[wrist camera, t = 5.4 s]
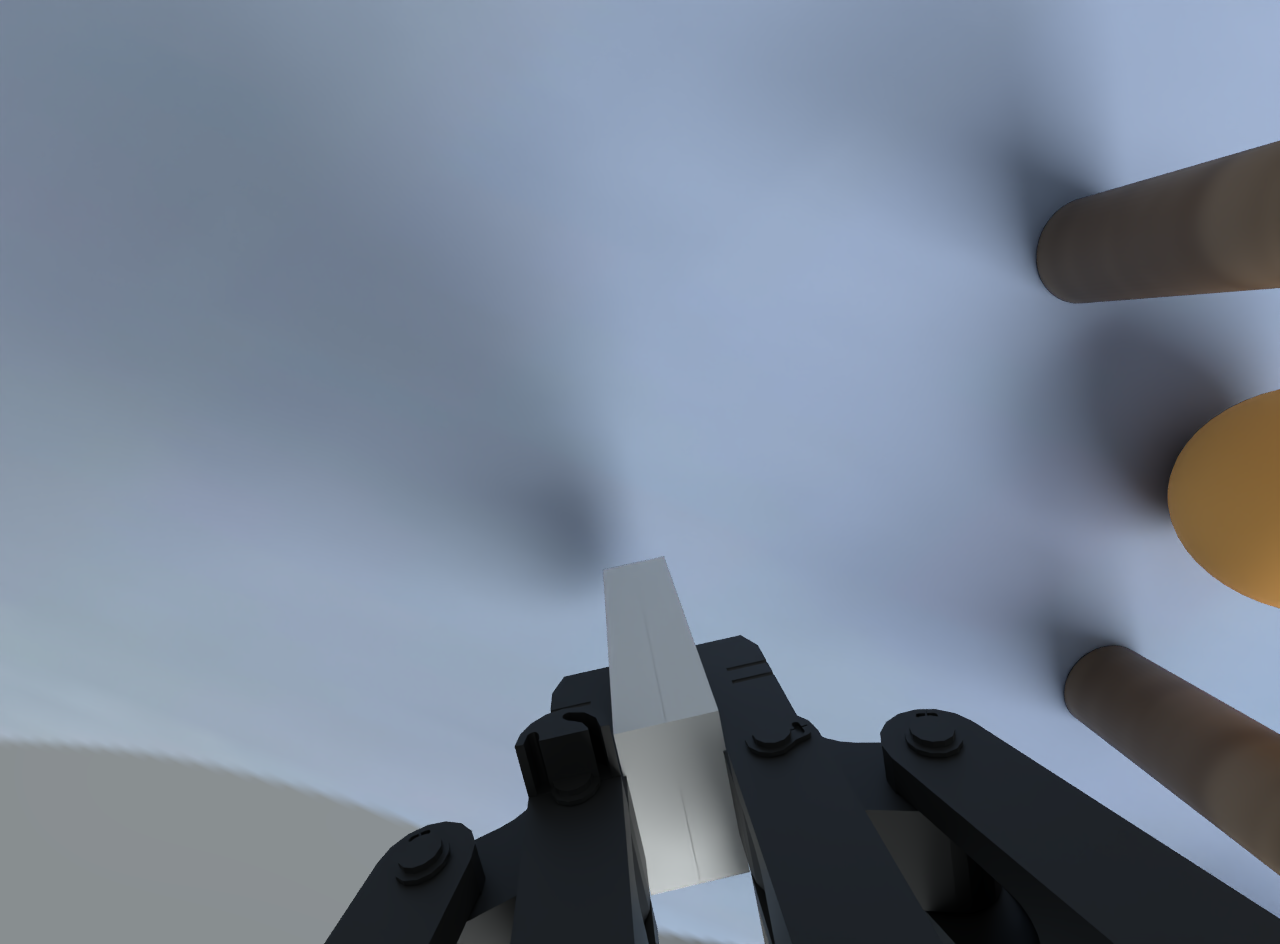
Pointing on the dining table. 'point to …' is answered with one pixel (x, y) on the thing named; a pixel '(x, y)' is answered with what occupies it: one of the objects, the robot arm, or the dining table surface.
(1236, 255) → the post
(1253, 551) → the ball
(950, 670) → the dining table surface
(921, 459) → the dining table surface
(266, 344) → the dining table surface
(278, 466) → the dining table surface
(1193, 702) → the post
